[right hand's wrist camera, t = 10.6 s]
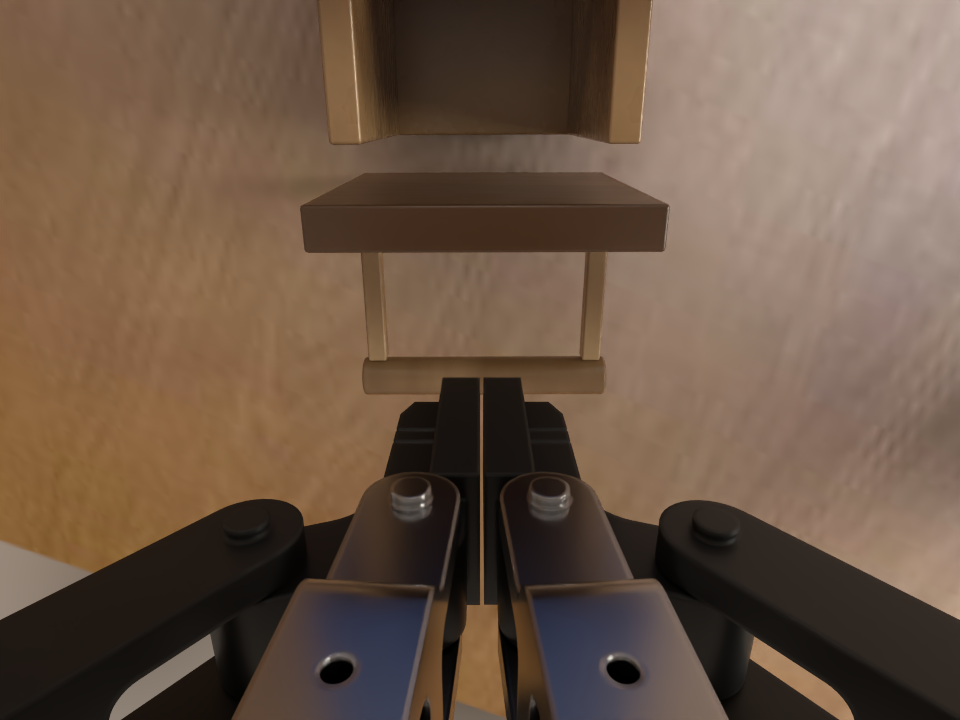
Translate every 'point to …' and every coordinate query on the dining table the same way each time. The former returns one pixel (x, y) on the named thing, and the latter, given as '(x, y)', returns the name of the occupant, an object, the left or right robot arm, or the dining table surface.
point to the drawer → (484, 196)
